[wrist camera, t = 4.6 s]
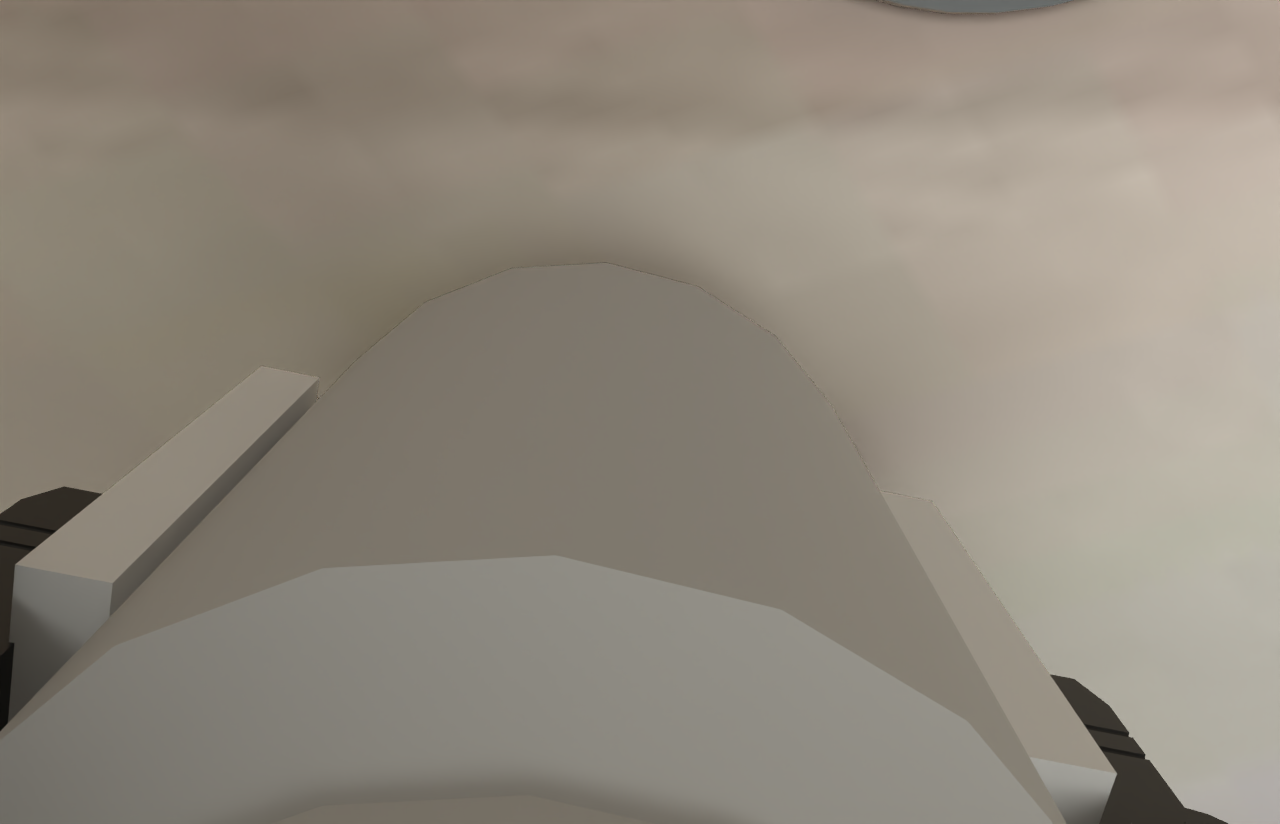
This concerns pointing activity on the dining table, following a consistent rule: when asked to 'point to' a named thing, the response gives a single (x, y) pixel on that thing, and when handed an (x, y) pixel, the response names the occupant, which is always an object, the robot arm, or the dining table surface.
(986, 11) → the saucer
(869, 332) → the dining table surface
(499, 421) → the can
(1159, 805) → the robot arm
